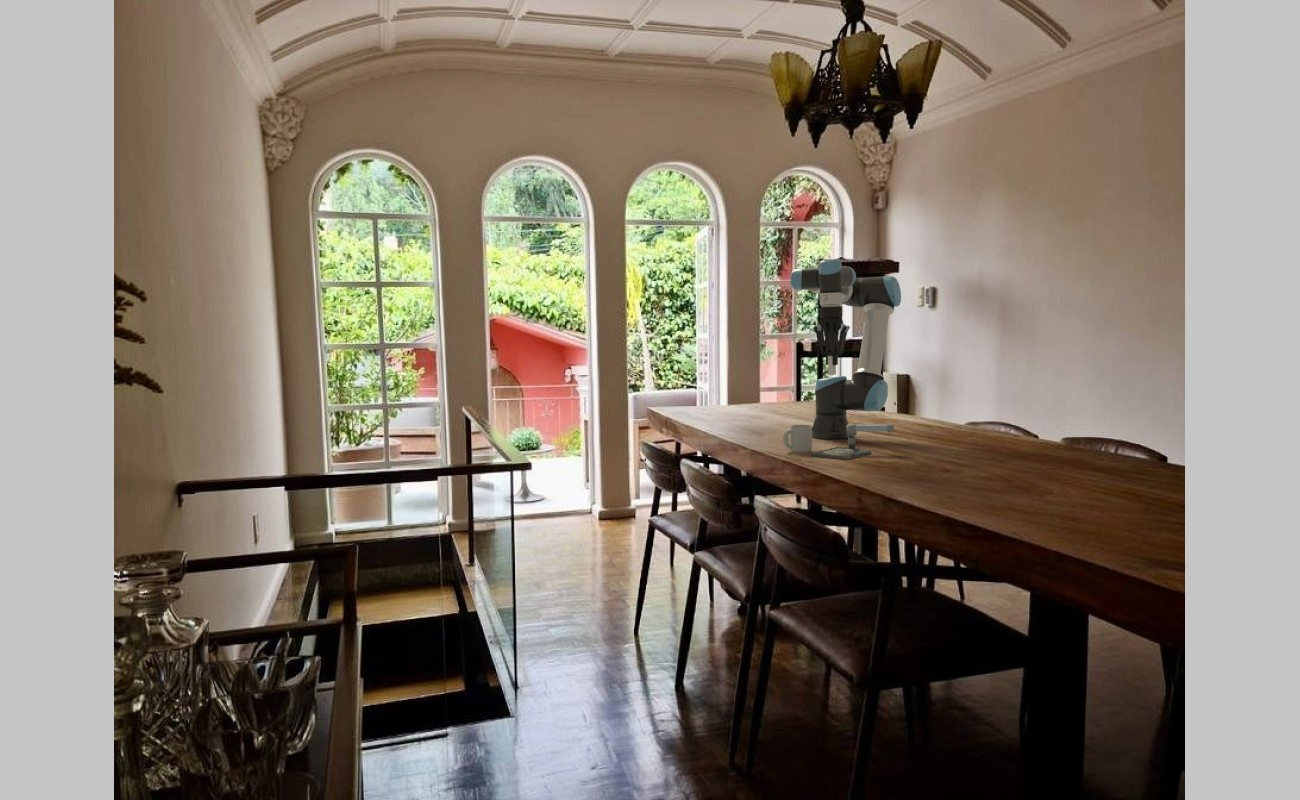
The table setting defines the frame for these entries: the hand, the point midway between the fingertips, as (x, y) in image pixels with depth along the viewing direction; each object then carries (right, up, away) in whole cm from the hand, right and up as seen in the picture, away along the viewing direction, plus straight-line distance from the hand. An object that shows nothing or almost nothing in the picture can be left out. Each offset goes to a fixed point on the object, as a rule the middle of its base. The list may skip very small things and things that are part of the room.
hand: (832, 374), depth 277 cm
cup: (-12, -27, +1) cm, 29 cm away
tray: (+2, -27, -7) cm, 28 cm away
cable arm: (+12, -21, -4) cm, 24 cm away
